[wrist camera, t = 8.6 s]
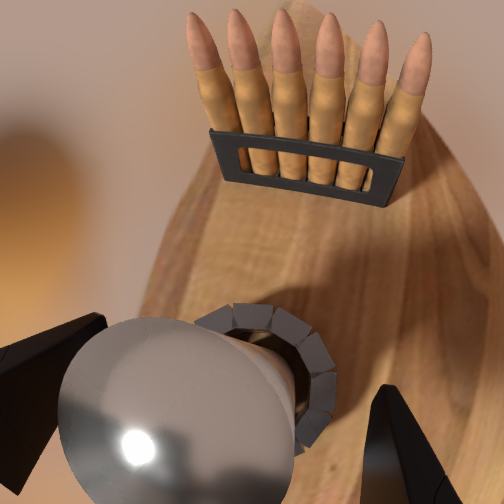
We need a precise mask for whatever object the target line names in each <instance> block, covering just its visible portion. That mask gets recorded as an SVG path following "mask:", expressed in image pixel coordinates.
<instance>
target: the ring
mask: <svg viewBox="0 0 504 504" xmlns="http://www.w3.org/2000/svg"><path fill="white" fill-rule="evenodd" d="M194 323H195V325H197V326H200V327H203V328H206V329H208V330H211V331H214V332H217V333H220V334H223V335H226V336H229V337H232V338H233V337H235V336H237V335H239V334H241V333H243V332H255V333H272V334H274V335H276V336H277V337H279V338H280V339H282V340H284V341H285V342H287V343H288V344H290V345H292V346H293V347H295V348H296V349H297V351H298V353H299V355H300V357H301V359H302V360H303V362H304V364H305V366H306V368H307V370H308V372H309V382H308V397H307V401H306V403H305V404H304V406H303V407H302V408H301V410H300V411H299V413H298V414H297V416H296V417H295V440H294V457H295V456H297V455H299V454H302V453H304V452H305V450H304V446H306V447H308V448H310V447H311V446H312V444H313V443H314V442H315V440H316V439H317V438H318V436H319V435H320V434H321V432H322V431H323V429H324V428H325V427H326V425H327V424H328V423H329V421H330V420H331V418H332V415H331V413H330V412H329V411H335V399H336V384H337V372H336V371H333V370H330V369H332V368H334V367H336V366H335V364H334V362H333V360H332V358H331V356H330V354H329V352H328V351H327V349H326V347H325V345H324V343H323V341H322V340H321V338H320V336H319V334H318V332H315V333H313V334H311V335H310V336H308V334H309V333H310V331H311V329H312V328H313V327H312V326H310V325H309V324H307V323H305V322H304V321H302V320H300V319H299V318H297V317H295V316H294V315H292V314H290V313H289V312H287V311H286V310H284V309H282V308H281V307H278V308H277V310H275V308H274V306H273V305H269V304H242V303H234V304H233V308H232V307H231V306H229V305H226V306H224V307H222V308H220V309H218V310H216V311H214V312H212V313H210V314H208V315H206V316H204V317H202V318H200V319H198V320H196V321H194ZM307 336H308V337H307Z"/></svg>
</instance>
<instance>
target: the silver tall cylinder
mask: <svg viewBox="0 0 504 504" xmlns="http://www.w3.org/2000/svg"><path fill="white" fill-rule="evenodd" d="M58 428H59V434H60V440H61V443H62V447H63V450H64V453H65V456H66V459H67V461H68V463H69V466H70V468H71V470H72V472H73V473H74V475H75V477H76V479H77V480H78V482H79V483H80V485H81V486H82V488H83V489H84V491H85V492H86V493H87V494H88V496H89V497H90V498H91V499H92V500H93V501H94V503H95V504H281V502H282V500H283V499H284V497H285V495H286V493H287V490H288V487H289V485H290V482H291V478H292V472H293V467H294V440H295V379H294V375H293V372H292V369H291V367H290V366H289V364H288V363H287V362H286V360H285V359H284V358H283V357H282V356H280V355H279V354H278V353H276V352H274V351H272V350H270V349H267V348H264V347H261V346H257V345H254V344H251V343H248V342H245V341H242V340H238V339H235V338H232V337H229V336H226V335H223V334H220V333H217V332H214V331H211V330H208V329H206V328H203V327H200V326H197V325H194V324H190V323H187V322H184V321H181V320H175V319H169V318H156V317H146V318H137V319H131V320H127V321H124V322H120V323H117V324H115V325H113V326H110V327H108V328H106V329H104V330H103V331H101V332H99V333H98V334H96V335H95V336H94V337H92V338H91V339H90V340H89V341H88V342H87V343H85V345H84V346H83V347H82V348H81V349H80V350H79V351H78V352H77V354H76V355H75V357H74V358H73V360H72V361H71V363H70V365H69V367H68V369H67V371H66V373H65V375H64V378H63V382H62V385H61V388H60V393H59V399H58Z"/></svg>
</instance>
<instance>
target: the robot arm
mask: <svg viewBox="0 0 504 504" xmlns="http://www.w3.org/2000/svg"><path fill="white" fill-rule="evenodd" d="M106 328H108V325H107V322H106V318H105V316H104V315H102V314H99V313H97V312H93V313H90V314H87V315H85V316H82V317H80V318H77V319H75V320H72V321H70V322H67V323H64V324H62V325H59V326H57V327H54V328H52V329H49V330H46V331H44V332H41V333H39V334H36V335H34V336H31V337H28V338H26V339H23V340H21V341H18V342H15V343H13V344H11V345H8V346H5V347H2V348H0V483H1V484H2V485H3V486H5V487H6V488H8V489H9V490H10V491H12V492H13V493H15V494H16V495H17V496H18V495H19V494H20V492H21V491H22V489H23V487H24V485H25V483H26V481H27V479H28V477H29V475H30V474H31V472H32V470H33V468H34V466H35V465H36V463H37V461H38V459H39V457H40V455H41V454H42V452H43V450H44V449H45V447H46V445H47V443H48V442H49V440H50V438H51V436H52V435H53V433H54V431H55V430H56V428H57V426H58V399H59V393H60V388H61V385H62V382H63V378H64V375H65V373H66V371H67V369H68V367H69V365H70V363H71V361H72V360H73V358H74V357H75V355H76V354H77V352H78V351H79V350H80V349H81V348H82V347H83V346H84V345H85V343H87V342H88V341H89V340H90V339H91V338H92V337H94V336H95V335H96V334H98V333H99V332H101V331H103V330H104V329H106ZM360 504H463V503H462V501H461V500H460V498H459V497H458V495H457V493H456V491H455V490H454V488H453V486H452V484H451V482H450V480H449V479H448V477H447V475H445V471H444V469H443V467H442V466H441V464H440V462H439V460H438V458H437V456H436V455H435V453H434V451H433V449H432V447H431V446H430V444H429V442H428V440H427V438H426V437H425V435H424V433H423V431H422V430H421V428H420V426H419V424H418V423H417V421H416V419H415V417H414V416H413V414H412V412H411V411H410V409H409V407H408V405H407V404H406V402H405V400H404V399H403V397H402V395H401V394H400V392H399V390H398V389H397V387H396V386H395V385H388V384H383V385H381V387H380V388H379V390H378V392H377V394H376V396H375V397H374V399H373V401H372V404H371V409H370V416H369V423H368V430H367V436H366V442H365V448H364V458H363V473H362V485H361V496H360Z"/></svg>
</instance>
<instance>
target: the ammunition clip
mask: <svg viewBox="0 0 504 504" xmlns="http://www.w3.org/2000/svg"><path fill="white" fill-rule="evenodd" d="M187 41H188V46H189V50H190V54H191V58H192V61H193V64H194V69H195V72H196V75H197V79H198V89H199V93H200V96H201V99H202V102H203V105H204V107H205V110H206V113H207V116H208V118H209V121H210V123H211V126H212V128H210V130H209V134H210V137H211V140H212V143H213V146H214V149H215V152H216V155H217V158H218V162H219V165H220V168H221V171H222V174H223V177H224V180H225V181H231V182H238V183H245V184H253V185H259V186H266V187H273V188H279V189H285V190H292V191H298V192H303V193H309V194H315V195H321V196H326V197H332V198H337V199H342V200H347V201H352V202H357V203H362V204H367V205H372V206H377V207H382V208H384V207H387V205H388V203H389V200H390V198H391V195H392V193H393V190H394V188H395V185H396V183H397V180H398V178H399V175H400V173H401V170H402V167H403V165H404V162H405V157H404V156H405V154H406V152H407V149H408V147H409V145H410V142H411V140H412V137H413V135H414V133H415V130H416V128H417V125H418V123H419V120H420V113H421V105H422V102H423V99H424V96H425V90H426V87H427V84H428V81H429V77H430V71H431V65H432V44H431V39H430V35H429V34H428V33H427V32H424V33H422V34H421V35H420V36H419V37H418V38H417V39H416V41H415V42H414V44H413V45H412V47H411V49H410V50H409V52H408V54H407V56H406V59H405V61H404V64H403V67H402V70H401V73H400V77H399V80H398V81H397V84H396V87H395V90H394V93H393V95H392V96H391V98H390V100H389V102H388V104H387V107H386V110H385V114H384V117H383V121H382V124H381V128H380V129H378V128H379V124H380V120H381V116H382V112H383V108H384V89H385V83H386V80H385V79H386V74H387V69H388V59H389V46H388V37H387V32H386V29H385V26H384V24H383V22H382V21H380V20H378V21H377V22H376V23H375V24H374V25H373V26H372V27H371V29H370V31H369V33H368V35H367V37H366V39H365V42H364V45H363V48H362V51H361V55H360V59H359V64H358V71H357V74H356V78H355V83H354V87H353V90H352V92H351V95H350V97H349V101H348V107H347V113H346V120H345V122H343V119H344V111H345V102H346V96H345V89H344V60H345V56H344V43H343V37H342V33H341V29H340V25H339V23H338V21H337V19H336V16H335V15H334V14H333V13H328V14H327V15H326V17H325V18H324V20H323V22H322V24H321V27H320V30H319V34H318V38H317V43H316V50H315V68H314V77H313V84H312V87H311V91H310V117H308V116H307V88H306V84H305V81H304V78H303V68H302V64H301V51H300V45H299V40H298V35H297V32H296V29H295V26H294V24H293V21H292V19H291V18H290V16H289V14H288V13H287V12H286V10H284V9H280V10H279V11H278V13H277V15H276V17H275V20H274V25H273V31H272V62H273V65H272V70H273V83H272V103H273V111H274V112H272V107H271V100H270V93H269V87H268V84H267V81H266V79H265V77H264V74H263V70H262V66H261V61H260V60H259V55H258V49H257V45H256V42H255V39H254V36H253V33H252V31H251V29H250V27H249V25H248V23H247V21H246V19H245V18H244V17H243V15H242V14H241V13H240V12H239V11H238V10H237V9H233V10H232V11H231V14H230V17H229V21H228V47H229V54H230V59H231V63H232V71H233V77H234V90H233V87H232V84H231V81H230V79H229V77H228V76H227V74H226V72H225V70H224V67H223V64H222V61H221V59H220V57H219V54H218V51H217V47H216V45H215V43H214V40H213V38H212V36H211V34H210V32H209V30H208V29H207V27H206V26H205V24H204V23H203V21H202V20H201V19H200V18H199V17H198V16H197V15H196V14H195V13H193V12H191V13H189V15H188V19H187ZM274 126H275V128H276V136H275V129H274ZM308 131H309V141H308ZM341 136H343V139H342V145H341V146H340V141H341ZM373 146H374V151H373V152H372V149H373ZM277 151H278V152H277ZM307 156H308V158H307ZM337 161H339V162H338V163H337ZM367 167H368V168H367Z"/></svg>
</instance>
